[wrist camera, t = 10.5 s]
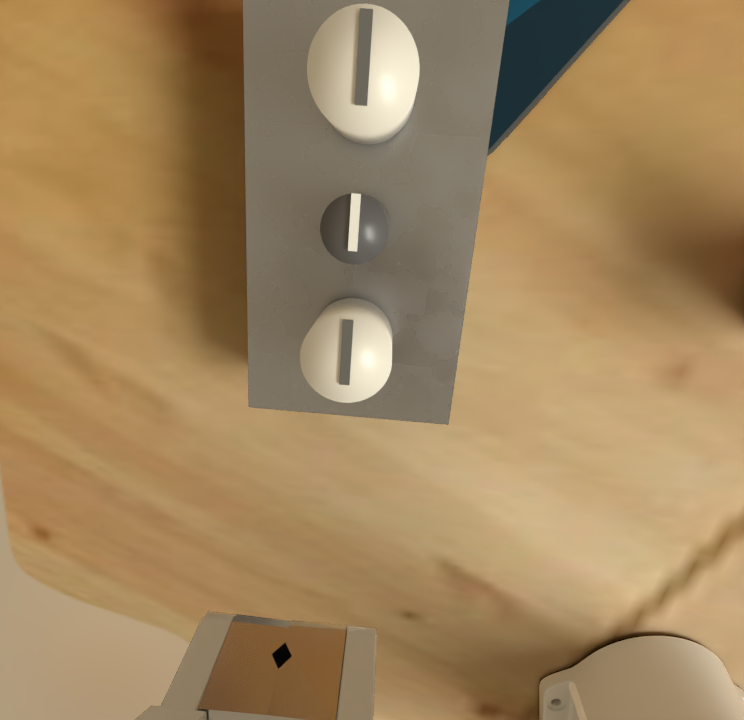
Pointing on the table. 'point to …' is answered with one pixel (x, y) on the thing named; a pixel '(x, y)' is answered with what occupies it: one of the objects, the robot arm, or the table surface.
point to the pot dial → (354, 228)
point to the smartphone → (542, 53)
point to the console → (373, 178)
